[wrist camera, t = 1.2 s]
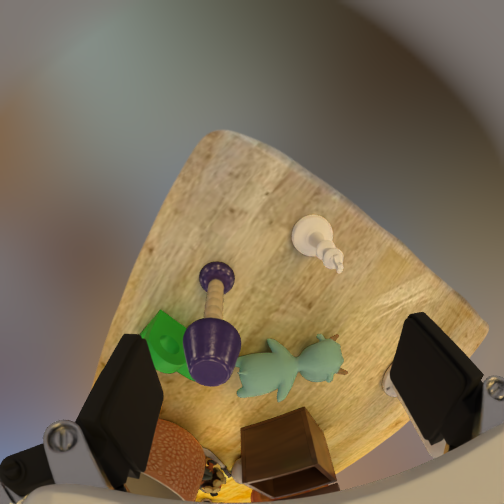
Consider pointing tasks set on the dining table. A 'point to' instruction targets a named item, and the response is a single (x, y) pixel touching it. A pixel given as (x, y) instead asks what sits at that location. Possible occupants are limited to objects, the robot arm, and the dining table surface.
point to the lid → (315, 492)
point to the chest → (285, 455)
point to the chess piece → (317, 241)
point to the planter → (171, 465)
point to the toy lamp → (212, 331)
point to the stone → (237, 471)
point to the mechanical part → (166, 344)
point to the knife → (213, 457)
